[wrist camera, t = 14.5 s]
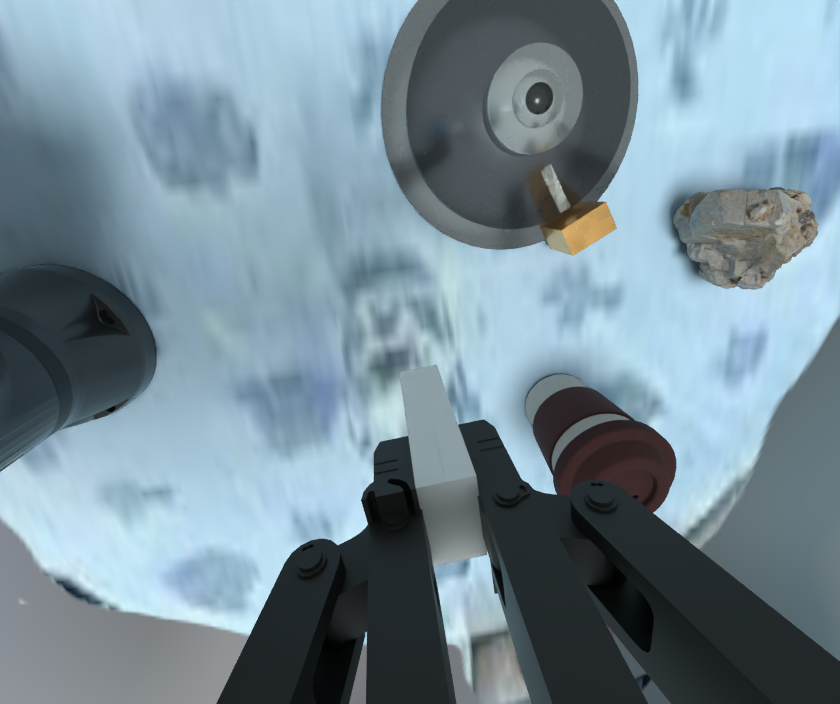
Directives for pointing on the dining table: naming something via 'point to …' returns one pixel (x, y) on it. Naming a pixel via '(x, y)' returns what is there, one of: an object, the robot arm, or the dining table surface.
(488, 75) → the turntable
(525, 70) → the cover
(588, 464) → the coffee cup
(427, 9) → the turntable base
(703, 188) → the dining table surface
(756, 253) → the rock
